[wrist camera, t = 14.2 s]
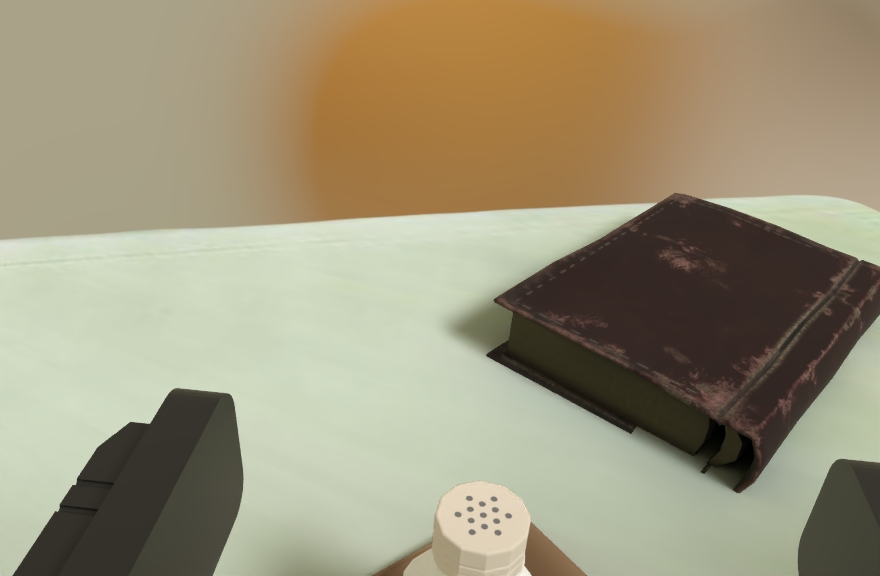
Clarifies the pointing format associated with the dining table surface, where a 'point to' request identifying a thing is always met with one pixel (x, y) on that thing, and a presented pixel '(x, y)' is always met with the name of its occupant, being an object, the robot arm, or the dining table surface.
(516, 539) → the salt shaker
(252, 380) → the dining table surface
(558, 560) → the walnut board
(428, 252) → the dining table surface
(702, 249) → the diary
